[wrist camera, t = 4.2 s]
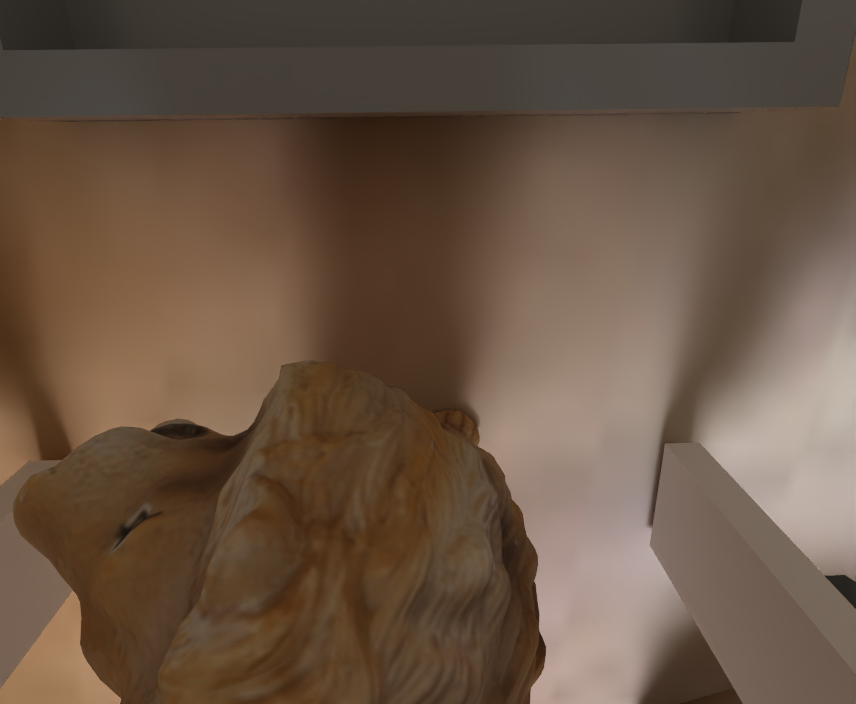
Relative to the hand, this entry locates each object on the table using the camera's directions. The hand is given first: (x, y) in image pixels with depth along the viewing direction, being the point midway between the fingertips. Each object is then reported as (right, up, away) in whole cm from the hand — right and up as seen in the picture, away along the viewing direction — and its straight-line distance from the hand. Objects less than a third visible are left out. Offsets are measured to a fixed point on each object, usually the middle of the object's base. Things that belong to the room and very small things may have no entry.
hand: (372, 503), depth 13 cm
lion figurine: (0, -1, +1) cm, 1 cm away
